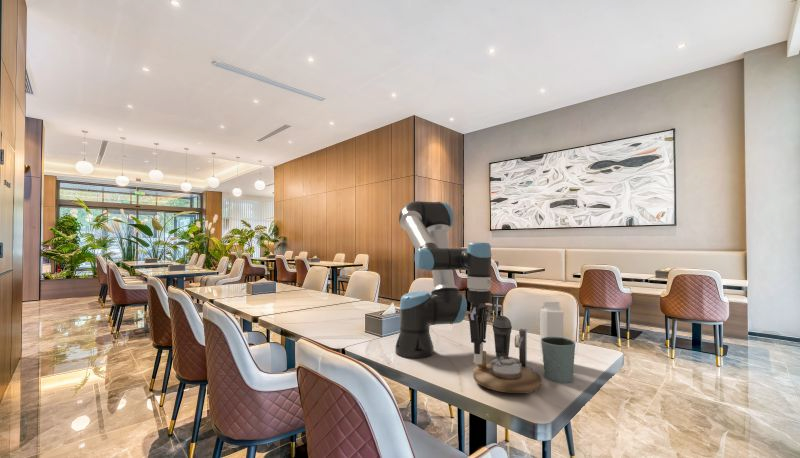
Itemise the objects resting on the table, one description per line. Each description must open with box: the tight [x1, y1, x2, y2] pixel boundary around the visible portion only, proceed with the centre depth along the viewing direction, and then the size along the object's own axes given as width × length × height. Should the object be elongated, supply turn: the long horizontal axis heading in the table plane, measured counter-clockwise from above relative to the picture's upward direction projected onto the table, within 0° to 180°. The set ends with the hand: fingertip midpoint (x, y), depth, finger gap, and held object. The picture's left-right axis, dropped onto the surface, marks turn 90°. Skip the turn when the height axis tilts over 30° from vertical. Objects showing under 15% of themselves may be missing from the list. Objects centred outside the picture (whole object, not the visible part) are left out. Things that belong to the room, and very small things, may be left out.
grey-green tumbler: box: [541, 337, 576, 384], centre depth 114 cm, size 10×10×12 cm
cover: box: [491, 355, 522, 380], centre depth 109 cm, size 9×9×5 cm
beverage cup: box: [491, 304, 513, 359], centre depth 135 cm, size 7×7×20 cm
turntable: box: [473, 350, 542, 394], centre depth 109 cm, size 20×20×6 cm
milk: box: [539, 301, 565, 362], centre depth 130 cm, size 6×6×22 cm
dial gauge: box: [514, 328, 533, 370], centre depth 117 cm, size 5×12×14 cm, turn 149°
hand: (478, 363), depth 114 cm, fingers closed
